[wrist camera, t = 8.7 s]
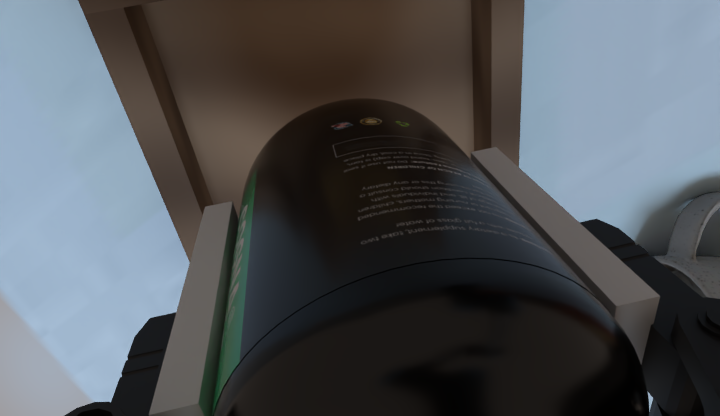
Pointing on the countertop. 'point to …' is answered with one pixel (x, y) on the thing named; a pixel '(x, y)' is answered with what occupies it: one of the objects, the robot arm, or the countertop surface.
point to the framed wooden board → (298, 78)
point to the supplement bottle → (404, 286)
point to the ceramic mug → (694, 248)
